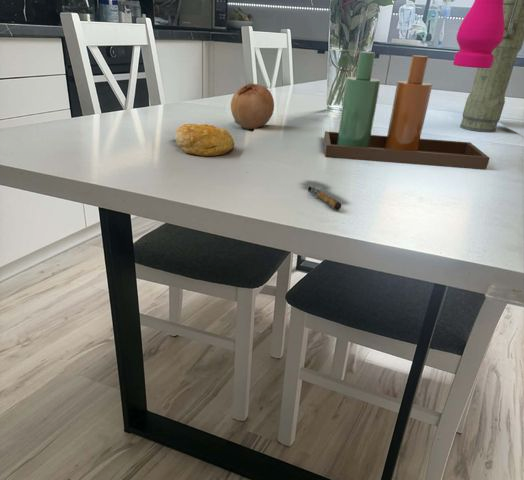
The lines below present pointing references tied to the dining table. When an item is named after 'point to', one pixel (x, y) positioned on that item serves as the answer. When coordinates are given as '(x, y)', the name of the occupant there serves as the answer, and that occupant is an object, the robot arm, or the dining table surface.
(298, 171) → the dining table surface
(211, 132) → the bread roll
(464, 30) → the pepper mill
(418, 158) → the tray
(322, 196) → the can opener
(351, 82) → the green bottle
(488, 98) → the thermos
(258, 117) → the onion
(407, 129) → the amber bottle
